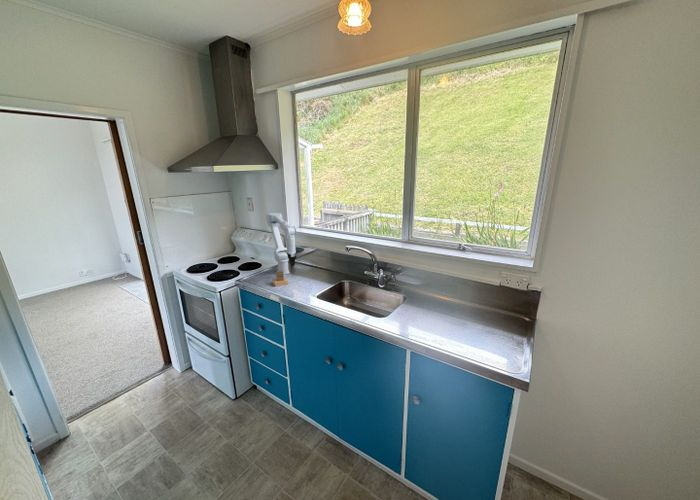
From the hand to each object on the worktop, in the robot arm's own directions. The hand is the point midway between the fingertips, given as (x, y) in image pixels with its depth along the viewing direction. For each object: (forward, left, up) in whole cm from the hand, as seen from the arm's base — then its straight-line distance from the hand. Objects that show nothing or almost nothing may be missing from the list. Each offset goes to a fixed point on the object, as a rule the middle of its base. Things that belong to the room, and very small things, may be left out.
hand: (292, 264), depth 190 cm
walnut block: (+7, -9, -7) cm, 13 cm away
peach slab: (+7, -9, -10) cm, 16 cm away
